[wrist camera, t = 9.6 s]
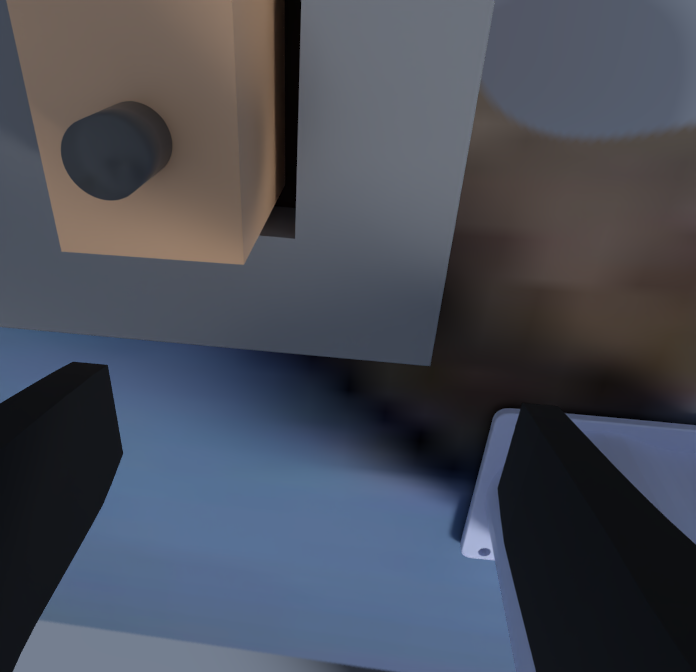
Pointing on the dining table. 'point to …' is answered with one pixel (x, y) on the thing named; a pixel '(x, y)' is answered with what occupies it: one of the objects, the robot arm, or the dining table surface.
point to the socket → (284, 222)
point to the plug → (157, 121)
